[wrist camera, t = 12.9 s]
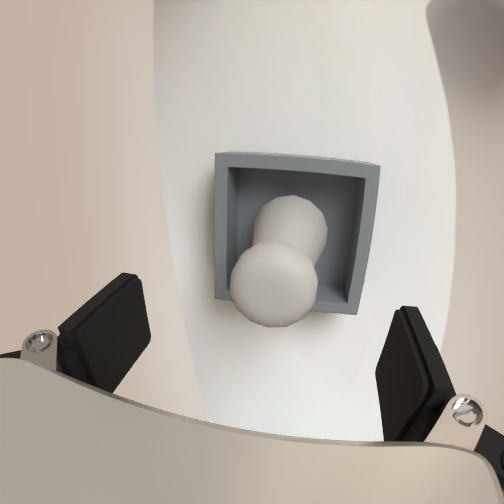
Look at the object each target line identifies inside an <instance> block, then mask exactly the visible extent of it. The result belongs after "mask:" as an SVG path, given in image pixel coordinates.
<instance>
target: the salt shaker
mask: <svg viewBox="0 0 504 504" xmlns="http://www.w3.org/2000/svg"><path fill="white" fill-rule="evenodd" d="M327 230H328V228H327V225H326V222H325V219H324V216H323V213H322V212H321V211H320V210H319V209H318V208H317V207H316V206H315V205H314V204H313V203H312V202H310V201H309V200H306V199H303V198H301V197H298V196H295V195H291V196H283V197H276V198H275V199H273V200H272V201H270V202H269V203H267V204H266V205H264V206H263V207H262V208H261V210H260V212H259V214H258V215H257V217H256V219H255V222H254V237H253V245H252V247H251V248H249V249H248V250H246V251H244V252H243V254H242V255H241V256H240V258H239V260H238V261H237V263H236V265H235V267H234V269H233V270H232V274H231V284H230V295H231V297H232V299H233V301H234V303H235V305H236V307H237V309H238V310H239V311H240V312H241V313H242V314H243V315H244V316H245V317H247V318H248V319H249V320H250V321H251V322H254V323H257V324H260V325H263V326H266V327H287V326H289V325H291V324H293V323H295V322H297V321H299V320H301V319H302V318H303V317H304V316H305V315H306V314H307V312H308V311H309V310H310V309H311V307H312V306H313V304H314V302H315V298H316V292H317V285H318V279H317V275H316V272H315V269H314V266H315V264H316V262H317V260H318V258H319V257H320V255H321V253H322V251H323V249H324V247H325V245H326V239H327Z"/></svg>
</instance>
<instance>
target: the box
mask: <svg viewBox="0 0 504 504" xmlns="http://www.w3.org/2000/svg"><path fill="white" fill-rule="evenodd" d="M379 176H380V166H378V165H375V164H372V163H368V162H360V161H352V160H344V159H335V158H325V157H315V156H303V155H289V154H274V153H253V152H223V153H215V184H214V258H215V299H222V300H229V301H233V299H232V297H231V295H230V284H231V274H232V270H233V269H234V267H235V265H236V263H237V261H238V260H239V258H240V256H241V255H242V254H243V252H244V251H246V250H248V249H249V248H251V247H252V245H253V237H254V222H255V219H256V217H257V215H258V214H259V212H260V210H261V208H262V207H263V206H264V205H266V204H267V203H269V202H270V201H272V200H273V199H275V198H276V197H283V196H291V195H295V196H298V197H301V198H303V199H306V200H309V201H310V202H312V203H313V204H314V205H315V206H316V207H317V208H318V209H319V210H320V211H321V212H322V213H323V216H324V219H325V222H326V225H327V228H328V230H327V239H326V245H325V247H324V249H323V251H322V253H321V255H320V257H319V258H318V260H317V262H316V264H315V266H314V269H315V272H316V275H317V279H318V285H317V292H316V298H315V302H314V304H313V306H312V307H311V309H310V310H309V311H319V312H329V313H339V314H350V315H357V312H358V307H359V303H360V298H361V293H362V289H363V284H364V279H365V273H366V268H367V263H368V257H369V251H370V245H371V239H372V232H373V226H374V219H375V211H376V203H377V195H378V186H379Z"/></svg>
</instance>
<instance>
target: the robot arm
mask: <svg viewBox="0 0 504 504" xmlns="http://www.w3.org/2000/svg"><path fill="white" fill-rule="evenodd" d="M58 329H59V332H60V335H59V336H58V337H57V335H56V334H55V333H54V332H52V331H50V330H40V331H37V332H34V333H32V334H30V335H29V336H28V337H27V338H26V339H25V340H24V342H23V345H22V350H20V351H15V352H10V353H5V354H1V355H0V504H504V435H502V434H500V433H499V432H497V431H496V430H494V429H492V428H491V427H489V426H487V425H486V424H485V423H486V420H487V413H486V409H485V407H484V405H483V404H482V403H481V402H480V401H479V400H478V399H476V398H475V397H472V396H470V395H464V394H462V395H457V396H456V393H455V390H454V388H453V385H452V383H451V380H450V377H449V375H448V372H447V370H446V367H445V365H444V363H443V360H442V358H441V355H440V353H439V351H438V348H437V346H436V345H435V343H434V341H433V339H432V337H431V334H430V332H429V330H428V328H427V326H426V324H425V321H424V319H423V317H422V315H421V313H420V311H419V309H418V307H413V306H402V307H401V308H400V310H396V311H395V313H394V316H393V319H392V323H391V326H390V329H389V332H388V335H387V338H386V341H385V344H384V347H383V350H382V353H381V355H380V358H379V361H378V364H377V367H376V372H375V376H376V382H377V389H378V396H379V403H380V410H381V418H382V427H383V436H384V441H345V440H326V439H313V438H302V437H293V436H284V435H277V434H270V433H263V432H257V431H251V430H245V429H239V428H234V427H229V426H224V425H219V424H214V423H210V422H206V421H201V420H197V419H193V418H189V417H185V416H181V415H178V414H174V413H171V412H167V411H163V410H160V409H157V408H154V407H150V406H147V405H144V404H141V403H138V402H135V401H132V400H129V399H126V398H123V397H120V396H117V395H115V394H112V393H113V392H114V390H115V389H116V388H117V386H118V385H119V384H120V382H121V381H122V379H123V378H124V377H125V375H126V374H127V372H128V371H129V370H130V368H131V367H132V366H133V364H134V363H135V362H136V360H137V359H138V357H139V356H140V355H141V353H142V352H143V351H144V350H145V348H146V347H147V346H148V344H149V342H150V339H151V333H150V328H149V323H148V317H147V312H146V306H145V300H144V294H143V288H142V282H141V280H140V279H138V276H137V275H135V274H129V273H121V274H120V275H119V276H117V277H116V278H115V279H114V280H112V281H111V282H110V283H109V284H108V285H106V286H105V287H104V288H103V289H102V290H100V291H99V292H98V293H97V294H96V295H94V296H93V297H92V298H91V299H90V300H89V301H87V302H86V303H85V304H84V305H83V306H82V307H80V308H79V309H78V310H77V311H76V312H75V313H73V314H72V315H71V316H70V317H69V318H68V319H67V320H65V321H64V322H63V323H62V324H61V325H60V326H59V327H58Z"/></svg>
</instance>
